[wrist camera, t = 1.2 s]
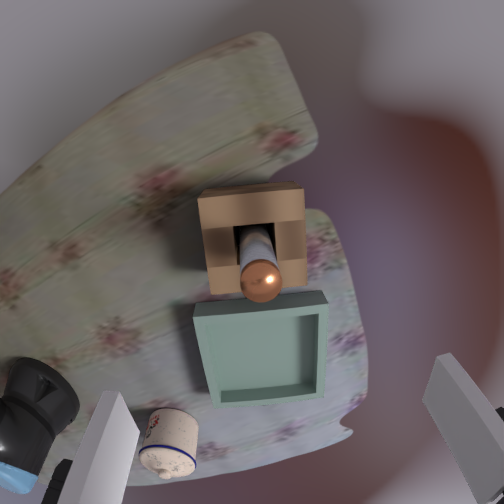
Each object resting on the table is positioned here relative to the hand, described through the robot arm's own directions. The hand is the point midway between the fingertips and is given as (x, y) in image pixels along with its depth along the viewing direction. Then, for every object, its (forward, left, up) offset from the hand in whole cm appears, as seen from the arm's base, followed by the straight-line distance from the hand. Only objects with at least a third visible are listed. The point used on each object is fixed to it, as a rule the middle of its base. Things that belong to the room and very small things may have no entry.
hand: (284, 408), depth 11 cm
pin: (0, 0, -27) cm, 27 cm away
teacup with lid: (-17, -34, -27) cm, 47 cm away
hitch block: (0, 0, -27) cm, 27 cm away
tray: (0, -17, -27) cm, 32 cm away
